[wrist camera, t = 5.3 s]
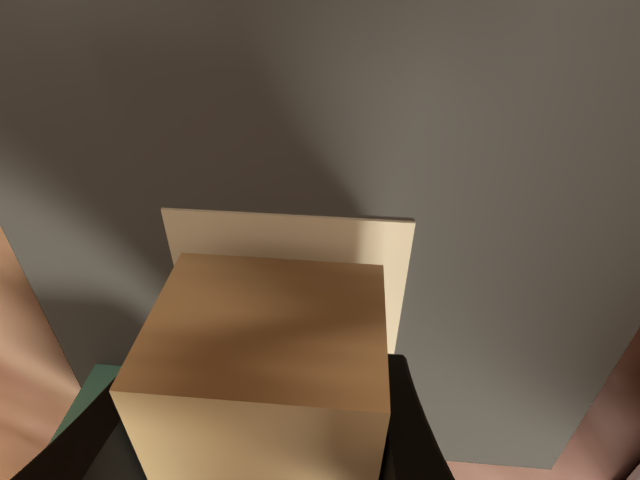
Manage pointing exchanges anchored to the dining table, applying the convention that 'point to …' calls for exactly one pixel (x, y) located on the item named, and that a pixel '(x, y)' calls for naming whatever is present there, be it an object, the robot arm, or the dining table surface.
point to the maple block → (260, 372)
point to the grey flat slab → (345, 180)
